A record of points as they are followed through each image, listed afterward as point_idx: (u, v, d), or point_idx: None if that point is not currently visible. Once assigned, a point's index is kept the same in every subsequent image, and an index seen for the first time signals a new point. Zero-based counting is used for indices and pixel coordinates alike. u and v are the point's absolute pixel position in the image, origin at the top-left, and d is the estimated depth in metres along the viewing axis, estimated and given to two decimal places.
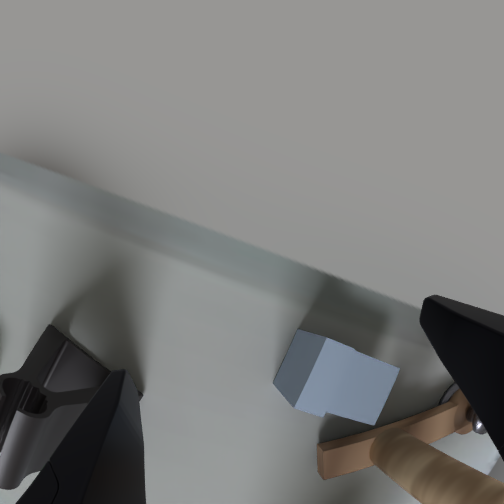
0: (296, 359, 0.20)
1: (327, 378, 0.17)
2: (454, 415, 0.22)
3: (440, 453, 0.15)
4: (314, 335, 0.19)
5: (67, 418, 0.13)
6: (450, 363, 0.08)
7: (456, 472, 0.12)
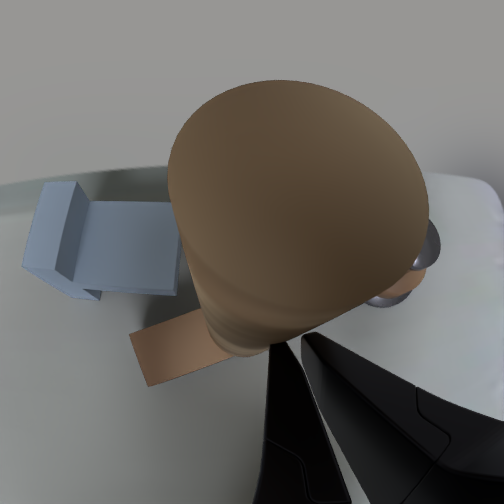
0: None
1: (50, 221, 0.13)
2: None
3: None
4: None
5: None
6: (327, 415, 0.07)
7: None
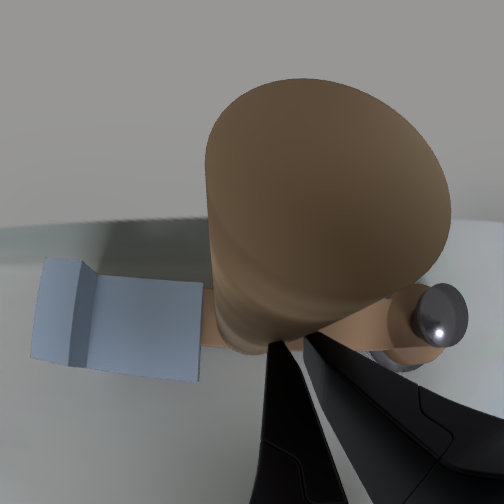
0: None
1: (56, 308, 0.11)
2: (386, 315, 0.17)
3: None
4: None
5: None
6: (329, 414, 0.07)
7: None
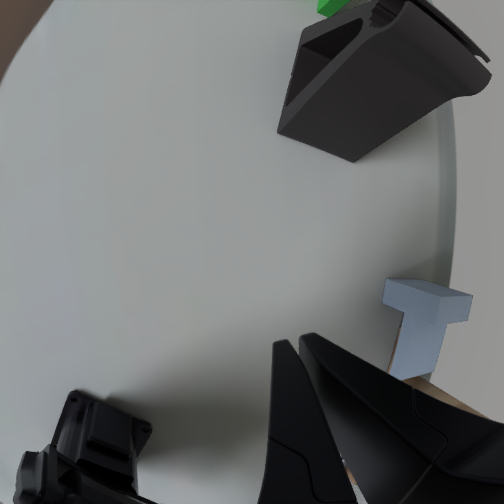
0: (429, 286, 0.23)
1: (455, 311, 0.19)
2: None
3: None
4: None
5: (422, 99, 0.14)
6: (324, 416, 0.07)
7: None
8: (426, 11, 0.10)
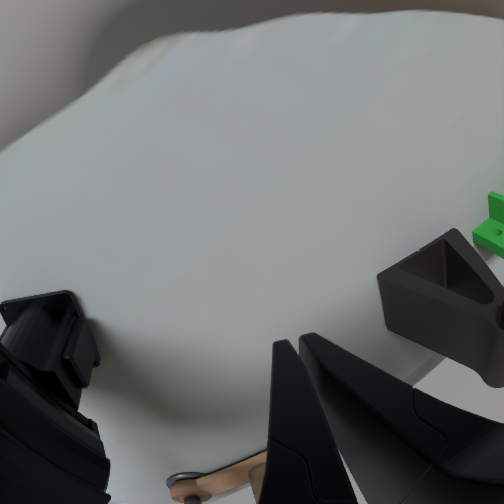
0: None
1: None
2: (210, 492, 0.29)
3: None
4: None
5: (463, 356, 0.19)
6: (324, 416, 0.07)
7: None
8: None
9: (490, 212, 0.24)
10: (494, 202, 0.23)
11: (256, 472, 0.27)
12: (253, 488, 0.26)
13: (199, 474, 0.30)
